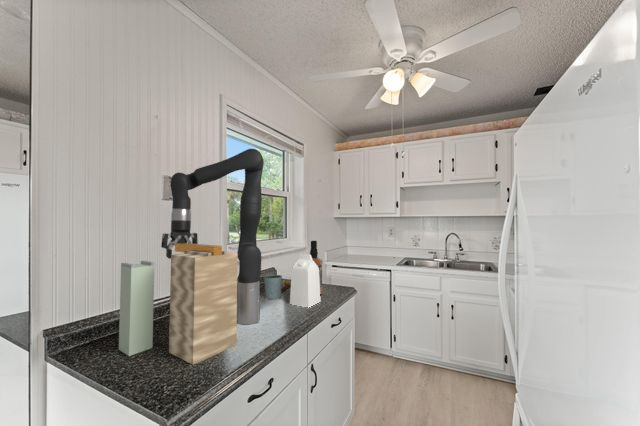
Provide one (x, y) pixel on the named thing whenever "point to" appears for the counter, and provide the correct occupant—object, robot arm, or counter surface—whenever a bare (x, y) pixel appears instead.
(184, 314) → the stand
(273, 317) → the counter surface
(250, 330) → the counter surface
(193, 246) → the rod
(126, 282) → the grooved green pillar
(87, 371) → the counter surface
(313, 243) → the whiskey bottle
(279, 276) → the teal cup
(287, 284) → the gavel
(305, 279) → the milk
